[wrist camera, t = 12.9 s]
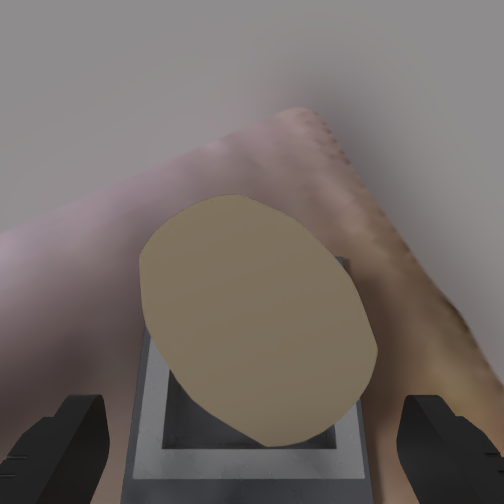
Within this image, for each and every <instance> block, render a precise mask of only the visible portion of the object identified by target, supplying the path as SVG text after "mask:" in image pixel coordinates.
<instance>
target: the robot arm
mask: <svg viewBox="0 0 504 504" xmlns="http://www.w3.org/2000/svg"><path fill="white" fill-rule="evenodd" d="M109 446H110V439H109V432H108V425H107V419H106V412H105V406H104V400H103V397H102V396H101V395H69V396H68V397H67V398H66V399H65V400H64V402H63V403H62V405H61V406H60V408H59V409H58V411H57V412H56V414H55V415H54V417H43V418H42V419H41V420H40V421H38V422H37V423H36V424H35V425H33V426H32V427H31V428H30V429H29V430H27V431H26V432H25V433H24V434H23V435H22V436H21V437H20V439H19V440H18V441H17V443H16V444H15V445H14V447H13V448H12V450H11V451H10V452H9V454H8V455H7V459H6V460H4V461H3V462H2V463H1V465H0V504H90V502H91V500H92V497H93V495H94V492H95V490H96V487H97V485H98V483H99V480H100V478H101V475H102V473H103V470H104V468H105V465H106V462H107V459H108V454H109ZM397 452H398V457H399V460H400V463H401V465H402V468H403V470H404V472H405V474H406V476H407V478H408V480H409V482H410V484H411V486H412V488H413V491H414V493H415V495H416V497H417V499H418V501H419V503H420V504H504V457H501V455H500V452H499V451H498V450H497V448H496V447H495V446H494V445H493V443H492V442H491V441H490V440H489V438H488V437H487V436H486V435H485V433H483V432H482V431H481V430H480V429H478V428H477V427H476V426H474V425H473V424H472V423H471V422H469V421H468V420H467V419H466V418H464V417H463V416H455V414H454V413H453V412H452V410H451V409H450V408H449V406H448V405H447V404H446V402H445V401H444V400H443V399H442V398H441V397H440V396H438V395H408V396H407V397H406V398H405V401H404V406H403V410H402V415H401V420H400V425H399V430H398V434H397Z"/></svg>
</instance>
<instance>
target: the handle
mask: <svg viewBox="0 0 504 504" xmlns="http://www.w3.org/2000/svg"><path fill="white" fill-rule="evenodd" d="M139 272H140V289H141V301H142V309H143V314H144V319H145V323H146V327H147V329H148V331H149V333H150V335H151V337H152V340H153V342H154V344H155V345H156V347H157V349H158V350H159V352H160V353H161V355H162V357H163V358H164V360H165V362H166V363H167V365H168V366H169V368H170V370H171V371H172V373H173V374H174V376H175V378H176V379H177V381H178V382H179V384H180V385H181V386H182V387H183V389H184V390H185V391H186V393H187V394H188V395H189V396H190V398H191V399H192V400H194V401H195V402H196V403H197V404H199V405H200V406H201V407H202V408H204V409H205V410H206V411H207V412H209V413H210V414H211V415H213V416H215V417H216V418H218V419H220V420H221V421H223V422H224V423H226V424H228V425H229V426H231V427H233V428H234V429H236V430H238V431H240V432H241V433H243V434H245V435H247V436H248V437H250V438H252V439H254V440H255V441H257V442H259V443H261V444H262V445H264V446H266V447H273V446H286V445H291V444H295V443H300V442H304V441H306V440H308V439H310V438H312V437H314V436H316V435H318V434H320V433H322V432H324V431H325V430H326V429H328V428H329V427H330V426H332V425H333V424H334V423H336V422H337V421H338V420H339V419H341V418H342V417H343V416H344V415H345V414H346V413H347V412H348V411H349V410H350V409H351V407H352V406H353V405H354V404H355V403H356V402H357V401H358V400H359V398H360V396H361V395H362V393H363V392H364V390H365V388H366V387H367V385H368V384H369V382H370V379H371V376H372V373H373V370H374V367H375V363H376V358H377V352H378V347H377V344H376V341H375V338H374V335H373V332H372V329H371V326H370V323H369V321H368V318H367V315H366V312H365V309H364V307H363V304H362V301H361V299H360V296H359V293H358V291H357V289H356V287H355V285H354V283H353V281H352V279H351V277H350V276H349V274H348V273H347V272H346V271H345V269H344V268H343V267H342V265H341V264H340V263H339V262H338V260H337V259H336V258H335V257H334V256H333V255H332V254H331V253H330V252H329V251H328V250H327V249H326V248H325V247H324V246H323V244H322V243H321V242H320V241H319V240H318V239H317V238H316V237H315V236H314V235H313V234H312V233H311V232H310V231H309V230H308V229H306V228H305V227H304V226H303V225H302V224H301V223H300V222H298V221H296V220H295V219H293V218H291V217H290V216H288V215H286V214H285V213H283V212H280V211H278V210H276V209H274V208H271V207H269V206H267V205H265V204H263V203H260V202H258V201H255V200H253V199H251V198H248V197H246V196H244V195H241V194H235V195H223V196H216V197H212V198H209V199H206V200H203V201H200V202H197V203H195V204H193V205H191V206H189V207H188V208H186V209H184V210H182V211H180V212H179V213H177V214H176V215H174V216H173V217H171V218H170V219H169V220H167V221H166V222H165V223H164V224H163V225H162V226H161V227H159V228H158V229H157V230H156V231H155V232H154V233H153V235H152V236H151V237H150V239H149V240H148V242H147V243H146V244H145V246H144V248H143V250H142V252H141V253H140V255H139Z"/></svg>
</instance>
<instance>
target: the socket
mask: <svg viewBox="0 0 504 504" xmlns="http://www.w3.org/2000/svg"><path fill="white" fill-rule="evenodd" d="M335 258H336V259H337V260H338V262H339V263H340V264H341V265H342V267H343V268H344V265H343V257H335ZM120 504H374V502H373V494H372V486H371V478H370V471H369V463H368V455H367V447H366V439H365V431H364V423H363V415H362V407H361V399H360V398H359V400H358V401H357V402H356V403H355V404H354V405H353V406H352V407H351V409H350V410H349V411H348V412H347V413H346V414H345V415H344V416H343V417H342V418H341V419H339V420H338V421H337V422H336V423H334V424H333V425H332V426H330V427H329V428H328V429H326V430H325V431H324V432H322V433H320V434H318V435H316V436H314V437H312V438H310V439H308V440H306V441H304V442H300V443H295V444H291V445H286V446H273V447H266V446H264V445H262V444H261V443H259V442H257V441H255V440H254V439H252V438H250V437H248V436H247V435H245V434H243V433H241V432H240V431H238V430H236V429H234V428H233V427H231V426H229V425H228V424H226V423H224V422H223V421H221V420H220V419H218V418H216V417H215V416H213V415H211V414H210V413H209V412H207V411H206V410H205V409H204V408H202V407H201V406H200V405H199V404H197V403H196V402H195V401H194V400H192V399H191V398H190V396H189V395H188V394H187V393H186V391H185V390H184V389H183V387H182V386H181V385H180V384H179V382H178V381H177V379H176V378H175V376H174V374H173V373H172V371H171V370H170V368H169V366H168V365H167V363H166V362H165V360H164V358H163V357H162V355H161V353H160V352H159V350H158V349H157V347H156V345H155V344H154V342H153V340H152V337H151V335H150V333H149V331H148V329H147V327H146V323H145V330H144V337H143V344H142V351H141V359H140V366H139V373H138V380H137V387H136V395H135V402H134V409H133V416H132V423H131V430H130V438H129V445H128V452H127V459H126V466H125V474H124V481H123V488H122V495H121V502H120Z"/></svg>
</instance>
